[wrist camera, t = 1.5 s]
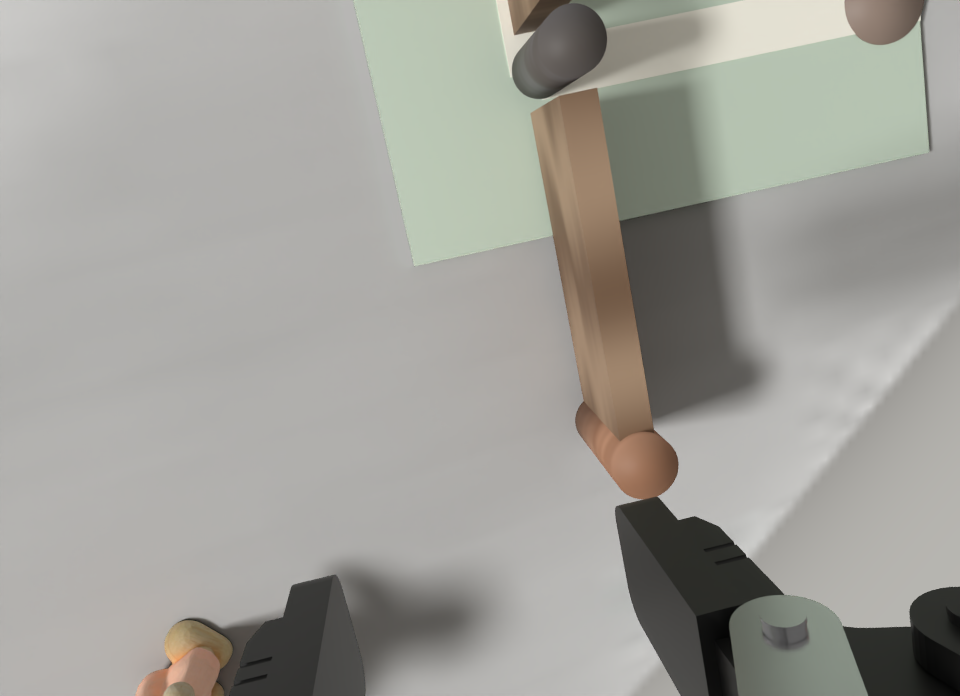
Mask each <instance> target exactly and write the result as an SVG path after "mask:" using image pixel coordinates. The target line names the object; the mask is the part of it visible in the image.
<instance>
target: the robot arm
mask: <svg viewBox="0 0 960 696" xmlns="http://www.w3.org/2000/svg"><path fill="white" fill-rule="evenodd" d="M615 516H616V523H617V529H618V534H619V539H620V545H621V550H622V556H623V561H624V567H625V572H626V578H627V583H628V588H629V593H630V597H631V600H632V604H633V607H634V610H635V612H636V615H637V618H638V620H639V622H640V624H641V626H642V628H643V629H644V631H645V633H646V635H647V637H648V638H649V640H650V642H651V644H652V645H653V647H654V649H655V651H656V653H657V654H658V656H659V658H660V660H661V661H662V663H663V665H664V667H665V669H666V670H667V672H668V674H669V676H670V677H671V679H672V681H673V683H674V684H675V686H676V688H677V690H678V691H679V693H680V695H681V696H960V587H948V588H940V589H936V590H932V591H929V592H927V593H924V594H922V595H921V596H919V597H918V598H917V599H916V600H915V601H914V602H913V603H912V605H911V607H910V623H911V627H889V628H853V627H844V626H842V623H841V621H840V620H839V618H838V617H837V615H836V614H835V613H834V612H833V611H832V610H830V609H829V608H827V607H826V606H824V605H822V604H821V603H818V602H816V601H813V600H810V599H807V598H803V597H798V596H790V595H784V594H783V593H782V592H781V590H780V589H779V588H778V587H777V586H776V585H775V584H774V583H773V582H772V581H771V580H770V579H769V578H768V577H767V576H766V575H765V574H764V573H763V572H762V571H761V570H760V569H759V568H758V567H757V566H756V565H755V564H754V562H753V561H752V560H751V559H750V558H747V557H746V554H745V553H744V552H743V551H742V550H741V549H740V548H739V547H738V546H737V545H734V542H733V541H732V540H731V539H730V538H729V537H728V536H727V535H726V533H725V532H724V531H723V530H722V529H721V528H720V527H719V526H716V525H714V524H712V523H709V522H707V521H705V520H702V519H700V518H697V517H695V516H694V517H690V518H686V519H682V520H677V518H676V517H675V516H674V515H673V514H672V513H671V511H670V510H669V509H668V508H667V507H666V506H665V504H664V503H663V502H662V501H661V500H660V499H659V498H658V497H652V498H648V499H644V500H640V501H636V502H632V503H627V504H623V505H619V506H616V508H615ZM229 696H365V677H364V670H363V664H362V659H361V655H360V651H359V647H358V644H357V640H356V637H355V633H354V629H353V626H352V622H351V619H350V615H349V611H348V608H347V604H346V601H345V597H344V593H343V590H342V586H341V583H340V581H339V579H338V577H337V576H336V575H331V576H327V577H323V578H319V579H315V580H311V581H306V582H302V583H298V584H294V585H292V587H291V590H290V594H289V597H288V601H287V605H286V608H285V612H284V616H283V618H279V619H275V620H271V621H267V622H265V623H264V624H263V625H262V626H261V628H260V629H259V630H258V631H257V632H256V633H255V634H254V636H253V637H252V638H251V639H250V640H249V641H248V642H247V644H246V647H245V650H244V653H243V656H242V659H241V662H240V669H238V671H237V674H236V677H235V680H234V687H232V689H231V692H230V695H229Z"/></svg>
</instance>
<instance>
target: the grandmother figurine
mask: <svg viewBox="0 0 960 696" xmlns="http://www.w3.org/2000/svg"><path fill="white" fill-rule="evenodd" d="M165 652H166V655H167V657H168V658H169V659H170V660H171V662H172V665H171V666H170V667H169V668H168V669H162V670H158V671H155V672H153V673H150V674H149V675H147V676H146V677H145V678H144V679H143V680H142V682H141V683H140V685H139V686H138V689H137V692H136V695H135V696H224V690H223V688H222V687H221V685H220V684H218V683H217V682H216V680H217V677H218V675H219V671H220V669H221V668H223V667H224V666H225V665H226V664H227V663H228V661H229V659H230V658H231V655H232V652H233V647H232V644H231V642H230V641H229V640H228V639H227V638H225V637H224V636H223V635H221V634H219V633H217V632H216V631H214V630H212V629H210V628H209V627H207V626H205V625H203V624H202V623H200V622H197V621H193V620H184V621H181V622H178V623H177V624H175V625H174V626H173V627H172V628H171V629H170V630H169V632H168V634H167V636H166V639H165Z"/></svg>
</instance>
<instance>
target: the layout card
mask: <svg viewBox="0 0 960 696" xmlns="http://www.w3.org/2000/svg"><path fill="white" fill-rule="evenodd" d="M353 1H354V6H355V10H356V14H357V19H358V23H359V27H360V32H361V36H362V41H363V45H364V49H365V54H366V58H367V62H368V67H369V71H370V75H371V80H372V84H373V88H374V93H375V97H376V101H377V106H378V110H379V115H380V119H381V123H382V128H383V132H384V136H385V141H386V145H387V149H388V154H389V158H390V162H391V167H392V171H393V176H394V180H395V184H396V189H397V193H398V197H399V202H400V206H401V210H402V215H403V219H404V223H405V228H406V232H407V237H408V241H409V245H410V250H411V254H412V258H413V263H414V266H419V265H423V264H428V263H432V262H437V261H441V260H446V259H450V258H455V257H459V256H464V255H468V254H473V253H477V252H482V251H486V250H491V249H495V248H500V247H504V246H509V245H514V244H518V243H523V242H527V241H532V240H536V239H541V238H545V237H550V236H553V233H552V227H551V222H550V217H549V211H548V206H547V200H546V195H545V190H544V184H543V179H542V174H541V168H540V163H539V157H538V152H537V147H536V141H535V136H534V130H533V125H532V120H531V114H530V113H531V112H533V111H535V110H536V109H538V108H540V107H541V106H543V105H545V104H546V103H548V102H549V101H551V100H553V99H554V98H556V97H558V96H560V95H565V94H569V93H574V92H579V91H584V90H588V89H593V88H597V89H598V95H599V102H600V108H601V114H602V120H603V126H604V132H605V138H606V144H607V150H608V156H609V162H610V168H611V174H612V180H613V186H614V192H615V198H616V204H617V210H618V216H619V221H622V220H626V219H631V218H635V217H640V216H645V215H649V214H654V213H658V212H663V211H667V210H672V209H676V208H681V207H685V206H690V205H694V204H699V203H703V202H708V201H712V200H717V199H721V198H726V197H730V196H735V195H739V194H744V193H748V192H753V191H757V190H762V189H767V188H771V187H776V186H780V185H785V184H789V183H794V182H798V181H803V180H807V179H812V178H816V177H821V176H825V175H830V174H834V173H839V172H843V171H848V170H852V169H857V168H861V167H866V166H870V165H875V164H879V163H884V162H888V161H893V160H898V159H902V158H907V157H911V156H916V155H920V154H925V153H929V141H928V127H927V113H926V99H925V85H924V71H923V57H922V43H921V29H920V21H921V12H922V9H923V5H924V0H571V1H570V3H578V4H582V5H585V6H588V7H590V8H591V9H593V10H594V11H595V12H596V13H597V14H598V15H599V16H600V18H601V19H602V21H603V23H604V25H605V28H606V32H607V46H606V51H605V53H604V56H603V58H602V60H601V61H600V63H599V64H598V65H597V66H596V67H595V68H594V69H593V70H591V71H590V72H588V73H587V74H585V75H583V76H582V77H580V78H579V79H577V80H576V81H574V82H572V83H571V84H569V85H568V86H566V87H565V88H563V89H562V90H560V91H558V92H557V93H555V94H554V95H552V96H550V97H548V98H545V99H533V98H530V97H527V96H526V95H524V94H523V93H522V92H520V90H519V89H518V88H517V87H516V85H515V83H514V80H513V77H512V64H513V60H514V57H515V56H516V54H517V52H518V51H519V50H520V49H521V47H522V46H523V45H524V44H525V43H526V42H527V40H528V39H529V38H530V37H531V36H532V34H533V33H534V32H535V31H533V32H528V33H523V34H518V35H514V33H513V27H512V22H511V17H510V11H509V6H508V0H353ZM570 3H569V4H570Z"/></svg>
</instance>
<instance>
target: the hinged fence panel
mask: <svg viewBox="0 0 960 696" xmlns="http://www.w3.org/2000/svg"><path fill="white" fill-rule="evenodd" d="M606 46H607V32H606V28H605V25H604V23H603V21H602V19H601V18H600V16H599V15H598V14H597V13H596V12H595V11H594V10H593V9H591V8H590V7H588V6H585V5H582V4H578V3H570V4H565V5H562V6H560V7H558V8H556V9H555V10H554V11H552V12H551V13H550V14H549V15H548V17H547V18H546V19H545V20H544V21H543V23H542V24H541V25H540V26H539V27H538V28H537V30H536V31H535V32H534V33H533V34H532V36H531V37H530V38H529V39H528V40H527V42H526V43H525V44H524V45H523V46H522V47H521V49H520V50H519V51H518V52H517V54H516V56H515V57H514V60H513V64H512V77H513V80H514V83H515V85H516V87H517V88H518V89H519V90H520V92H522V93H523V94H524V95H526V96H527V97H530V98H533V99H545V98H548V97H550V96H552V95H554V94H555V93H557V92H558V91H560V90H562V89H563V88H565V87H566V86H568V85H569V84H571V83H572V82H574V81H576V80H577V79H579V78H580V77H582V76H583V75H585V74H587V73H588V72H590V71H591V70H593V69H594V68H595V67H596V66H597V65H598V64H599V63H600V61H601V60H602V58H603V56H604V53H605V51H606ZM530 114H531V120H532V125H533V130H534V136H535V141H536V147H537V152H538V157H539V163H540V168H541V174H542V179H543V184H544V190H545V195H546V200H547V206H548V211H549V217H550V222H551V227H552V233H553V238H554V243H555V249H556V254H557V260H558V265H559V270H560V276H561V281H562V286H563V292H564V297H565V303H566V308H567V313H568V319H569V324H570V329H571V335H572V340H573V346H574V351H575V356H576V362H577V367H578V373H579V378H580V383H581V389H582V394H583V399H584V402H583V403H582V404H581V405H580V407H579V408H578V411H577V414H576V419H575V423H576V428H577V431H578V433H579V434H580V436H581V437H582V438H583V440H584V441H585V442H586V444H587V445H588V446H589V448H590V449H591V450H592V452H593V453H594V454H595V456H596V457H597V458H598V460H599V461H600V462H601V464H602V465H603V466H604V468H605V469H606V470H607V472H608V473H609V474H610V476H611V477H612V478H613V479H614V481H615V482H616V483H617V485H618V486H619V487H620V489H621V490H622V491H623V492H624V493H626V494H627V495H629V496H631V497H633V498H637V499H648V498H652V497H656V496H659V495H661V494H662V493H664V492H665V491H666V490H667V489H668V488H669V487H670V486H671V485H672V484H673V482H674V480H675V478H676V476H677V473H678V458H677V455H676V452H675V450H674V449H673V448H672V446H671V445H670V444H669V443H668V442H667V441H666V440H664V439H663V438H662V437H661V436H660V435H659V434H658V433H657V432H656V431H655V430H654V428H653V422H652V416H651V410H650V404H649V398H648V392H647V386H646V380H645V374H644V368H643V362H642V355H641V349H640V343H639V337H638V331H637V325H636V319H635V313H634V307H633V301H632V295H631V289H630V283H629V277H628V271H627V265H626V259H625V253H624V247H623V241H622V235H621V229H620V222H619V216H618V210H617V204H616V198H615V192H614V186H613V180H612V174H611V168H610V162H609V156H608V150H607V144H606V138H605V132H604V126H603V120H602V114H601V108H600V102H599V95H598V89H597V88H593V89H588V90H584V91H579V92H574V93H569V94H565V95H560V96H558V97H556V98H554V99H553V100H551V101H549V102H548V103H546V104H545V105H543V106H541V107H540V108H538V109H536V110H535V111H533V112H531V113H530Z"/></svg>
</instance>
